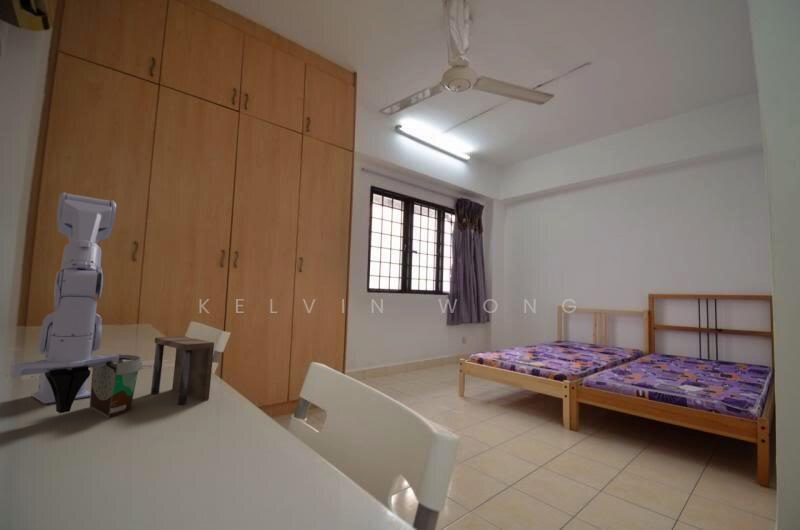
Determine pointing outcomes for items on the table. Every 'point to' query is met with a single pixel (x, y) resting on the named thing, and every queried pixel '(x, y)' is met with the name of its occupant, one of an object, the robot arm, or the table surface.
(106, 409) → the food container
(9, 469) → the table surface
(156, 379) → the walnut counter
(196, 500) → the table surface
